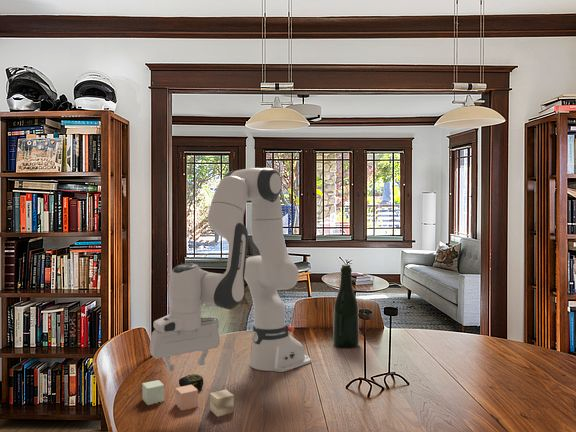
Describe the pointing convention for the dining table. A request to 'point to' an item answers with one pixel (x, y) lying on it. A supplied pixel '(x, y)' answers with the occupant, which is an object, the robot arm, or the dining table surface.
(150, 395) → the sage block
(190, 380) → the tape measure
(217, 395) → the birch block
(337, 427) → the dining table surface
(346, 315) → the beer bottle
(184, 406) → the peach block
